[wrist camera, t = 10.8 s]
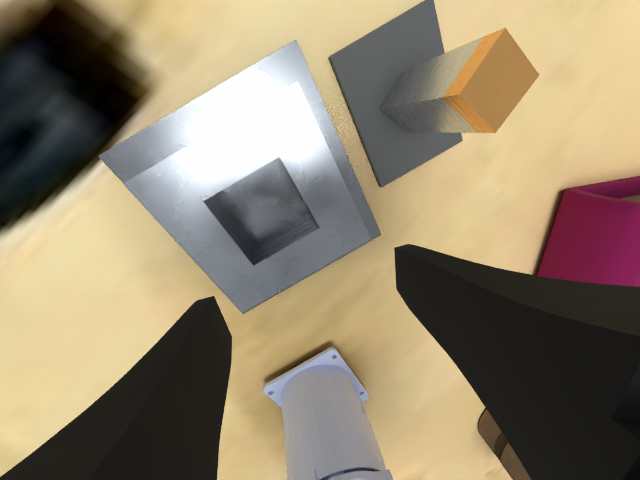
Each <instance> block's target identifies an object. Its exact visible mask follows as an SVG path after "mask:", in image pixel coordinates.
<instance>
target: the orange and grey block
mask: <svg viewBox="0 0 640 480" xmlns="http://www.w3.org/2000/svg"><path fill="white" fill-rule="evenodd" d="M538 76H539V74H538V73H537V71H536V70H535V68H534V67H533V66H532V64H531V63H530V61H529V60H528V59H527V57H526V56H525V54H524V53H523V52H522V50H521V49H520V47H519V46H518V45H517V43H516V42H515V41H514V39H513V38H512V36H511V35H510V34H509V32H508V31H507V29H506V28H503V29H501V30H499V31H496V32H494V33H492V34H489V35H487V36H484V37H482V38H480V39H477V40H475V41H473V42H470V43H468V44H465V45H463V46H461V47H458V48H456V49H454V50H451V51H449V52H446V53H444V54H442V55H439V56H437V57H435V58H432V59H430V60H427V61H425V62H423V63H420V64H418V65H416V66H413V67H411V68H408V69H406V70H404V71H402V73H401V74H400V76H399V77H398V79H397V81H396V82H395V84H394V85H393V87H392V89H391V90H390V92H389V94H388V95H387V97H386V98H385V100H384V102H383V103H382V105H381V106H380V108H379V110H381V111H382V112H383V113H384V114H385V115H386V116H388V117H389V118H390V119H391V120H392V121H393V122H395V123H396V124H397V125H398V126H399V127H400V128H402V129H403V130H404V131H405V132H450V133H496V132H497V130H498V129H499V128H500V126H501V125H502V124H503V122H504V121H505V120H506V118H507V117H508V116H509V114H510V113H511V112H512V110H513V109H514V108H515V107H516V105H517V104H518V103H519V101H520V100H521V99H522V97H523V96H524V95H525V93H526V92H527V91H528V89H529V88H530V87H531V85H532V84H533V83H534V81H535V80H536V79H537V77H538Z"/></svg>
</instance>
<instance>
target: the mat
mask: <svg viewBox="0 0 640 480" xmlns="http://www.w3.org/2000/svg"><path fill="white" fill-rule="evenodd" d="M442 54H444V48H443V43H442V39H441V34H440V29H439V24H438V19H437V14H436V9H435V5H434V0H425V1H424V2H422V3H420V4H418V5H417V6H415V7H413V8H412V9H410V10H408V11H407V12H405V13H403V14H401V15H400V16H398V17H396V18H395V19H393V20H391V21H389V22H388V23H386V24H384V25H383V26H381V27H379V28H378V29H376V30H374V31H372V32H371V33H369V34H367V35H366V36H364V37H362V38H360V39H359V40H357V41H355V42H354V43H352V44H350V45H349V46H347V47H345V48H343V49H342V50H340V51H338V52H337V53H335V54H333V55H331V56H330V57H329V61H330V63H331V66H332V68H333V71H334V73H335V76H336V78H337V81H338V83H339V86H340V88H341V91H342V94H343V96H344V99H345V101H346V104H347V106H348V109H349V111H350V114H351V116H352V119H353V121H354V124H355V126H356V129H357V131H358V134H359V136H360V139H361V141H362V144H363V146H364V149H365V151H366V154H367V156H368V159H369V162H370V164H371V167H372V169H373V172H374V174H375V177H376V179H377V182H378V184H379V186H380V187H383V186H385V185H387V184H389V183H390V182H392V181H394V180H395V179H397V178H399V177H401V176H402V175H404V174H406V173H408V172H409V171H411V170H413V169H415V168H416V167H418V166H420V165H422V164H423V163H425V162H427V161H428V160H430V159H432V158H434V157H435V156H437V155H439V154H441V153H442V152H444V151H446V150H448V149H449V148H451V147H453V146H454V145H456V144H458V143H460V142H461V141H462V136H461V133H450V132H405V131H404V130H403V129H402V128H400V127H399V126H398V125H397V124H396V123H395V122H393V121H392V120H391V119H390V118H389V117H388V116H386V115H385V114H384V113H383V112H382V111H381V110H379V108H380V106H381V105H382V103H383V102H384V100H385V98H386V97H387V95H388V94H389V92H390V90H391V89H392V87H393V85H394V84H395V82H396V81H397V79H398V77H399V76H400V74H401V73H402V71H404V70H406V69H408V68H411V67H413V66H416V65H418V64H420V63H423V62H425V61H427V60H430V59H432V58H435V57H437V56H439V55H442Z"/></svg>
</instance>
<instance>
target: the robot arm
mask: <svg viewBox="0 0 640 480" xmlns="http://www.w3.org/2000/svg"><path fill="white" fill-rule="evenodd" d="M395 268H396V288H397V290H398V292H399V294H400V295H401V297H402V298H403V300H404V302H405V303H406V305H407V306H408V308H409V309H410V310H411V311H412V313H413V314H414V315H415V316H416V317H417V319H418V320H419V321H420V322H421V323H422V325H423V326H424V327H425V328H426V329H427V330H428V332H429V333H430V334H431V335H432V336H433V337H434V339H435V340H436V341H437V342H438V343H439V344H440V346H441V347H442V348H443V349H444V350H445V351H446V353H447V354H448V355H449V356H450V358H451V359H452V360H453V361H454V363H455V364H456V365H457V367H458V368H459V369H460V371H461V372H462V374H463V375H464V376H465V378H466V379H467V381H468V382H469V384H470V385H471V386H472V388H473V389H474V391H475V392H476V394H477V395H478V397H479V398H480V400H481V401H482V403H483V404H484V406H485V407H486V409H487V410H488V412H489V413H490V415H491V416H492V418H493V419H494V421H495V422H496V424H497V425H498V427H499V428H500V430H501V432H502V433H503V435H504V436H505V438H506V439H507V441H508V443H509V444H510V446H511V447H512V449H513V450H514V452H515V454H516V455H517V457H518V458H519V460H520V462H521V463H522V465H523V467H524V468H525V470H526V472H527V473H528V475H529V477H530V478H531V480H640V287H636V286H623V285H610V284H598V283H588V282H579V281H571V280H563V279H556V278H548V277H542V276H535V275H530V274H524V273H519V272H514V271H508V270H504V269H499V268H495V267H491V266H487V265H482V264H478V263H474V262H471V261H467V260H463V259H460V258H456V257H453V256H450V255H446V254H443V253H440V252H436V251H433V250H430V249H426V248H423V247H419V246H415V245H410V244H407V245H403V246H399V247H396V248H395ZM231 354H232V336H231V334H230V331H229V329H228V327H227V325H226V322H225V320H224V318H223V315H222V313H221V311H220V309H219V306H218V304H217V302H216V300H215V297H214V296H212V297H208V298H204V299H201V300H197V301H196V302H195V303H194V304H193V305H192V306H191V307H190V308H189V309H188V310H187V311H186V312H185V313H184V314H183V315H182V316H181V317H180V318H179V320H178V321H177V322H176V323H175V324H174V325H173V326H172V327H171V328H170V329H169V330H168V331H167V333H166V334H165V335H164V336H163V337H162V338H161V339H160V340H159V341H158V342H157V343H156V344H155V345H154V346H153V347H152V348H151V349H150V350H149V351H148V352H147V353H146V354H145V355H144V356H143V357H142V358H141V359H140V360H139V361H138V362H137V363H136V364H135V365H134V366H133V367H132V368H131V369H130V370H129V371H128V372H127V373H126V374H125V375H124V376H123V377H122V378H121V379H120V380H119V381H118V382H117V383H116V384H115V385H113V386H112V387H111V388H110V389H109V390H108V391H107V392H106V393H104V394H103V395H102V396H101V397H100V398H99V399H98V400H97V401H95V402H94V403H93V404H92V405H91V406H90V407H89V408H87V409H86V410H85V411H84V412H83V413H81V414H80V415H79V416H78V417H77V418H75V419H74V420H73V421H72V422H70V423H69V424H68V425H67V426H65V427H64V428H63V429H62V430H60V431H59V432H58V433H57V434H55V435H54V436H53V437H52V438H50V439H49V440H48V441H47V442H45V443H44V444H43V445H42V446H40V447H39V448H38V449H37V450H35V451H34V452H33V453H32V454H30V455H29V456H28V457H26V458H25V459H24V460H22V461H21V462H20V463H18V464H17V465H16V466H14V467H13V468H12V469H10V470H9V471H8V472H6V473H5V474H4V475H2V476H1V477H0V480H217V468H218V453H219V441H220V433H221V425H222V419H223V413H224V406H225V400H226V394H227V387H228V381H229V374H230V367H231ZM333 355H334V356H333ZM263 392H264V393H265V394H266V395H267V396H268V397H269V398H271V399H272V400H273V401H274V402H275V403H276V404H277V405H278V406H279V407H281V408H282V415H283V428H284V441H285V454H286V467H287V480H393V478H392V476H391V473H390V470H389V469H387V470H386V469H385V464H384V460H383V457H382V454H381V451H380V449H379V446H378V443H377V441H376V438H375V435H374V433H373V430H372V427H371V425H370V422H369V419H368V417H367V414H366V411H365V409H364V406H363V403H362V402H364V401H365V400H367V399H368V398H369V394H368V392H367V391H366V389H365V388H364V387H363V385H362V384H361V383H360V381H359V380H358V379H357V377H356V376H355V374H354V373H353V372H352V370H351V369H350V368H349V366H348V365H347V364H346V362H345V361H344V359H343V358H342V357H341V355H340V354H339V353H338V351H337V350H336V349H335V348H334V347H330V348H328V349H326V350H325V351H323V352H321V353H319V354H318V355H316V356H314V357H312V358H310V359H309V360H307V361H305V362H303V363H302V364H300V365H298V366H296V367H295V368H293V369H291V370H289V371H288V372H286V373H284V374H282V375H281V376H279V377H277V378H275V379H274V380H272V381H270V382H268V383H267V384H265V385H264V386H263Z"/></svg>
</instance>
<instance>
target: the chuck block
mask: <svg viewBox="0 0 640 480" xmlns="http://www.w3.org/2000/svg"><path fill="white" fill-rule="evenodd" d="M99 157H100V159H101V160H102V161H103V162H104V163H105V164H106V165H107V166H108V167H109V168H110V169H111V170H112V172H113V173H114V174H115V175H116V176H117V177H118V178H119V179H120V180H121V181H122V182H123V184H124V185H125V186H126V187H127V188H128V190H129V191H130V192H131V193H132V194H133V195H134V196H135V197H136V198H137V199H138V200H139V202H140V203H141V204H142V205H143V206H144V207H145V208H146V209H147V210H148V211H149V212H150V213H151V215H152V216H153V217H154V218H155V219H156V220H157V221H158V222H159V223H160V224H161V225H162V226H163V228H164V229H165V230H166V231H167V232H168V233H169V234H170V235H171V236H172V237H173V238H174V240H175V241H176V242H177V243H178V244H179V245H180V246H181V247H182V248H183V249H184V250H185V251H186V253H187V254H188V255H189V256H190V257H191V258H192V259H193V260H194V261H195V262H196V263H197V264H198V266H199V267H200V268H201V269H202V270H203V271H204V272H205V273H206V274H207V275H208V276H209V278H210V279H211V280H212V281H213V282H214V283H215V284H216V285H217V286H218V287H219V288H220V289H221V291H222V292H223V293H224V294H225V295H226V296H227V297H228V298H229V299H230V300H231V301H232V302H233V304H234V305H235V306H236V307H237V308H238V309H239V310H240V311H241V312H242V313H243V314H244V313H246V312H247V311H249V310H251V309H253V308H254V307H256V306H258V305H259V304H261V303H263V302H265V301H266V300H268V299H270V298H272V297H273V296H275V295H277V294H279V293H280V292H282V291H284V290H286V289H287V288H289V287H291V286H293V285H294V284H296V283H298V282H300V281H301V280H303V279H305V278H307V277H308V276H310V275H312V274H314V273H315V272H317V271H319V270H320V269H322V268H324V267H326V266H327V265H329V264H331V263H333V262H334V261H336V260H338V259H340V258H341V257H343V256H345V255H347V254H348V253H350V252H352V251H354V250H355V249H357V248H359V247H361V246H362V245H364V244H366V243H368V242H369V241H371V240H373V239H375V238H376V237H378V236H380V235H381V233H380V230H379V228H378V226H377V224H376V221H375V219H374V217H373V214H372V212H371V210H370V207H369V205H368V203H367V201H366V198H365V196H364V194H363V191H362V189H361V187H360V185H359V182H358V180H357V178H356V175H355V173H354V171H353V169H352V166H351V164H350V162H349V159H348V157H347V155H346V152H345V150H344V148H343V146H342V143H341V141H340V139H339V136H338V134H337V132H336V130H335V127H334V125H333V123H332V120H331V118H330V116H329V114H328V111H327V109H326V107H325V104H324V102H323V100H322V97H321V95H320V93H319V91H318V88H317V86H316V84H315V81H314V79H313V77H312V75H311V72H310V70H309V68H308V65H307V63H306V61H305V58H304V56H303V54H302V52H301V49H300V47H299V45H298V42H297V40H295V41H293V42H291V43H289V44H288V45H286V46H284V47H283V48H281V49H279V50H278V51H276V52H274V53H272V54H271V55H269V56H267V57H266V58H264V59H262V60H261V61H259V62H257V63H255V64H254V65H252V66H250V67H249V68H247V69H245V70H244V71H242V72H240V73H238V74H237V75H235V76H233V77H232V78H230V79H228V80H227V81H225V82H223V83H221V84H220V85H218V86H216V87H215V88H213V89H211V90H210V91H208V92H206V93H204V94H203V95H201V96H199V97H198V98H196V99H194V100H193V101H191V102H189V103H187V104H186V105H184V106H182V107H181V108H179V109H177V110H176V111H174V112H172V113H170V114H169V115H167V116H165V117H164V118H162V119H160V120H159V121H157V122H155V123H153V124H152V125H150V126H148V127H147V128H145V129H143V130H142V131H140V132H138V133H136V134H135V135H133V136H131V137H130V138H128V139H126V140H125V141H123V142H121V143H119V144H118V145H116V146H114V147H113V148H111V149H109V150H108V151H106V152H104V153H102V154H101V155H99Z"/></svg>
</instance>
